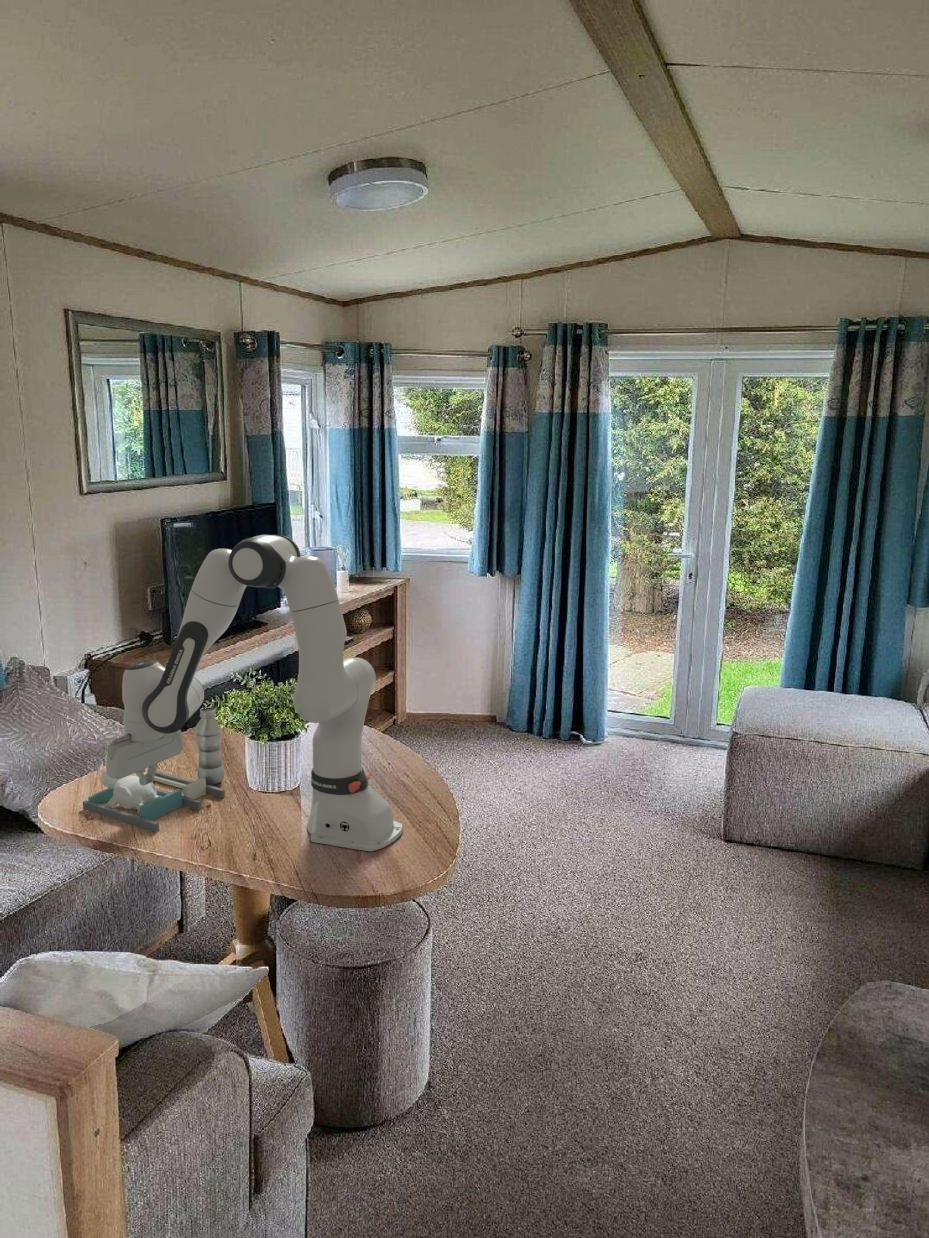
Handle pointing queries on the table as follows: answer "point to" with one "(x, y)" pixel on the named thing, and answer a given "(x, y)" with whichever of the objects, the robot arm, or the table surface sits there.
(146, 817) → the teal sled
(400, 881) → the table surface
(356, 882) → the table surface
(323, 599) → the robot arm
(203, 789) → the grey elongated piece
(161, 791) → the lane rails
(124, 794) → the white animal figurine
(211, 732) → the plastic bottle
